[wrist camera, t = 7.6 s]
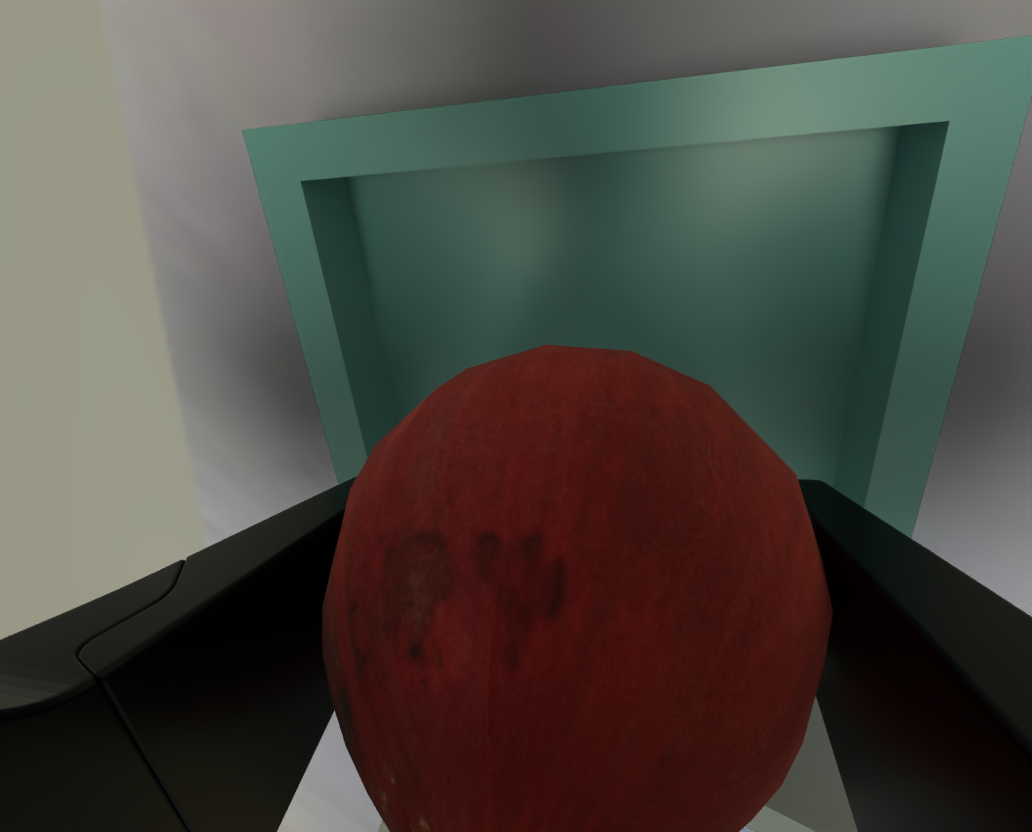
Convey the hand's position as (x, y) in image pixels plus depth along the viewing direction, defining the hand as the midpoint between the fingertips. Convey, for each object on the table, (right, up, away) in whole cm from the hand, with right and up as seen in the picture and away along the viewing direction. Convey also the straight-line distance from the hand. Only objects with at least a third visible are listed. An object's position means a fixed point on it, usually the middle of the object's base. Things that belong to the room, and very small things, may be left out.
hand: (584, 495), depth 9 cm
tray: (+1, +2, +3) cm, 4 cm away
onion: (0, +1, +2) cm, 2 cm away
